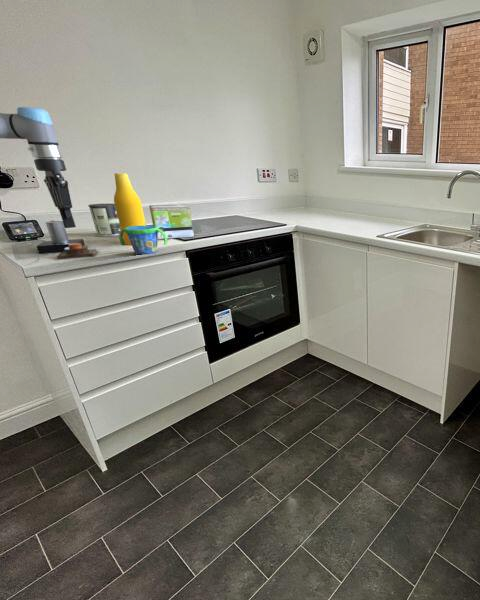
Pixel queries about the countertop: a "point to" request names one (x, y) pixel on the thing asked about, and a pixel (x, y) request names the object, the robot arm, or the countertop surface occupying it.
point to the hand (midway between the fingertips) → (70, 227)
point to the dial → (57, 231)
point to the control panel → (56, 246)
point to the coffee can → (105, 219)
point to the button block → (77, 253)
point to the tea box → (172, 220)
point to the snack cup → (143, 238)
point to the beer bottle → (127, 205)
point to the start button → (75, 246)
